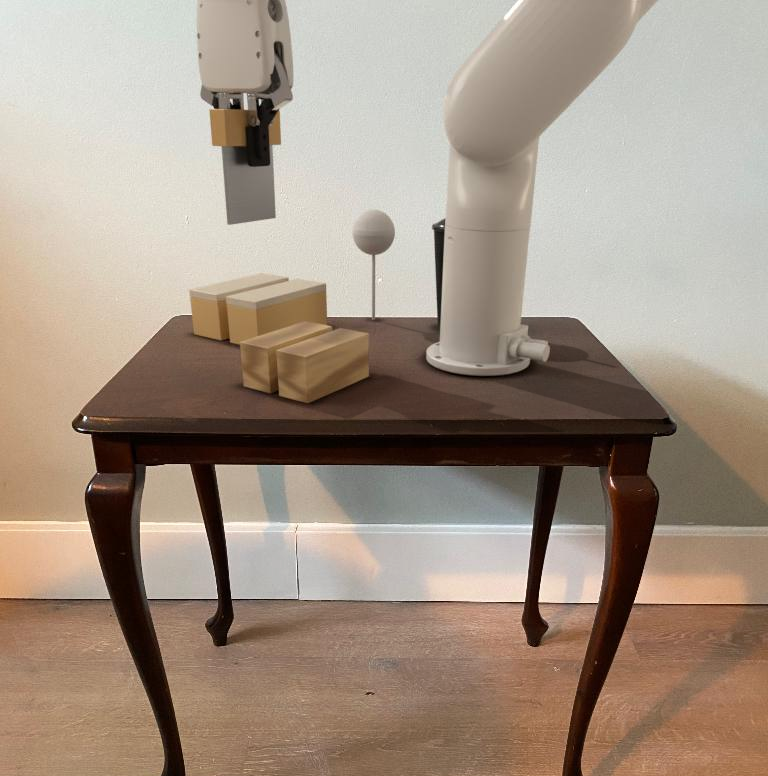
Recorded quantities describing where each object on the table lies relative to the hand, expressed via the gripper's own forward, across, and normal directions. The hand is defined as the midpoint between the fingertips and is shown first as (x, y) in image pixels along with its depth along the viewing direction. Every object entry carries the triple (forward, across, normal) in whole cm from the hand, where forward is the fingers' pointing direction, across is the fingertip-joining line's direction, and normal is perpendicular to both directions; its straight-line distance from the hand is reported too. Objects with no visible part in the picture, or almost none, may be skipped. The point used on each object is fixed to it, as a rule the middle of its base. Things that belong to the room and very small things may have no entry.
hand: (249, 163), depth 83 cm
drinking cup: (+21, -16, -23) cm, 35 cm away
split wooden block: (+21, -13, +7) cm, 26 cm away
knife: (+6, 0, 0) cm, 6 cm away
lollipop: (+21, -4, -21) cm, 30 cm away
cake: (+21, +6, -7) cm, 23 cm away
